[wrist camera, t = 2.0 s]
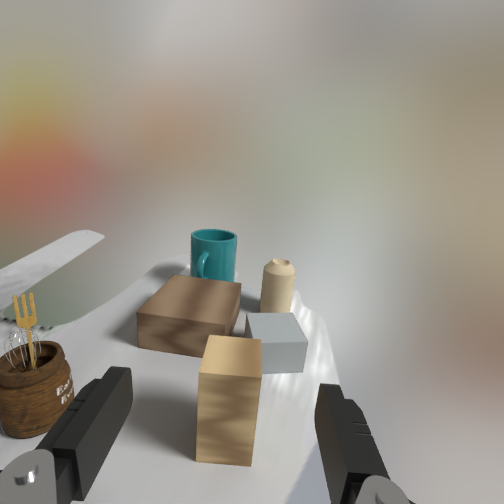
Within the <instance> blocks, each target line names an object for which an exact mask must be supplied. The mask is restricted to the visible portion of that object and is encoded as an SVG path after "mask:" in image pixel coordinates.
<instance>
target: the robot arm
mask: <svg viewBox="0 0 504 504" xmlns="http://www.w3.org/2000/svg"><path fill="white" fill-rule="evenodd" d="M132 401H133V390H132V375H131V369H130V368H127V367H114V366H111V367H110V368H109V369H108V370H107V372H106V373H105V374H104V376H103V377H102V379H94V380H92V381H91V382H90V383H88V384H87V385H86V386H84V387H83V388H82V389H81V390H80V392H79V393H78V394H77V396H76V397H75V398H74V400H73V401H72V402H71V403H70V405H69V406H68V407H67V408H66V411H64V412H63V414H62V415H61V416H60V417H59V419H58V420H57V421H56V423H55V424H54V425H53V426H52V428H51V429H50V430H49V432H48V433H47V434H46V436H45V437H44V438H43V439H42V441H41V442H40V443H39V445H38V446H37V447H36V448H35V449H34V450H32V451H29V452H26V453H24V454H22V455H20V456H19V457H17V458H16V459H14V460H13V461H12V462H10V463H9V464H8V465H7V466H6V467H5V468H4V469H3V470H0V504H70V503H71V501H72V500H74V501H84V500H85V498H86V496H87V494H88V492H89V490H90V488H91V486H92V484H93V482H94V480H95V478H96V476H97V474H98V472H99V470H100V468H101V466H102V465H103V463H104V461H105V459H106V457H107V455H108V453H109V451H110V449H111V447H112V445H113V443H114V441H115V439H116V437H117V435H118V433H119V431H120V429H121V428H122V426H123V424H124V422H125V420H126V418H127V416H128V414H129V412H130V409H131V406H132ZM315 429H316V434H317V438H318V443H319V448H320V452H321V457H322V462H323V467H324V472H325V476H326V481H327V486H328V490H329V495H330V500H331V504H415V503H413V502H412V501H410V500H409V499H407V497H406V495H405V494H404V492H403V491H402V490H401V489H400V488H399V487H398V486H397V485H396V484H395V483H394V482H392V481H391V480H390V478H389V476H388V474H387V471H386V468H385V466H384V463H383V461H382V458H381V456H380V454H379V451H378V449H377V446H376V444H375V441H374V439H373V436H371V432H370V429H369V427H368V425H367V422H366V420H365V417H364V415H363V412H362V410H361V409H360V408H359V407H358V406H357V404H356V403H355V402H354V401H353V400H351V399H344V396H343V393H342V390H341V388H340V386H339V385H335V384H322V383H321V384H320V386H319V392H318V397H317V402H316V408H315Z"/></svg>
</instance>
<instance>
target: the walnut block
mask: <svg viewBox="0 0 504 504" xmlns="http://www.w3.org/2000/svg"><path fill="white" fill-rule="evenodd" d="M240 294H241V283H235V282H228V281H220V280H212V279H205V278H197V277H189V276H182V275H173V276H172V277H171V278H170V279H169V280H168V281H167V282H166V283H165V284H164V285H163V286H162V287H161V288H160V289H159V290H158V291H157V292H156V293H155V294H154V295H153V296H152V297H151V298H150V299H149V300H148V301H147V302H146V303H145V304H144V305H143V306H142V307H141V308H140V309H139V310H138V311H137V331H138V348H142V349H148V350H155V351H161V352H167V353H174V354H180V355H186V356H192V357H199V358H203V355H204V352H205V348H206V345H207V341H208V337H209V335H217V336H229V337H231V335H232V332H233V329H234V326H235V323H236V320H237V317H238V314H239V306H240Z"/></svg>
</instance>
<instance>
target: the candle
mask: <svg viewBox="0 0 504 504" xmlns="http://www.w3.org/2000/svg"><path fill="white" fill-rule="evenodd" d="M295 273H296V270H295V269H294V268H293V266H292V265H291V264H290V262H289V261H288V260H284V259H279V260H277V259H273V260H272V261H270V262H269V263H268V264H266V265H265V266H264V271H263V281H262V290H261V299H260V313H290V307H291V300H292V294H293V286H294V280H295Z"/></svg>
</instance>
